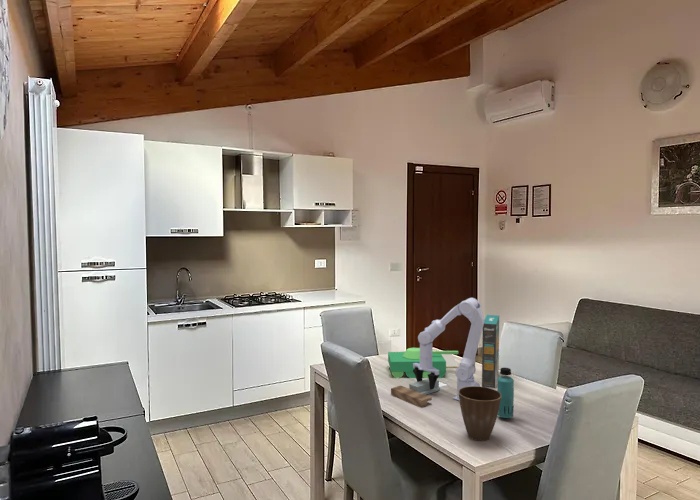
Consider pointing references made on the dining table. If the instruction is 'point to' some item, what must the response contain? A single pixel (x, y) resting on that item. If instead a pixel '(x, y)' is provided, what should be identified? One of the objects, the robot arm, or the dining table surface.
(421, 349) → the robot arm
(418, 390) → the tongue plank
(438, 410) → the dining table surface
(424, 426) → the dining table surface
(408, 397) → the grooved board
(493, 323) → the cake mix box
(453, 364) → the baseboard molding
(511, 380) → the beverage bottle
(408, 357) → the toy tank
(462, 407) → the plant pot
